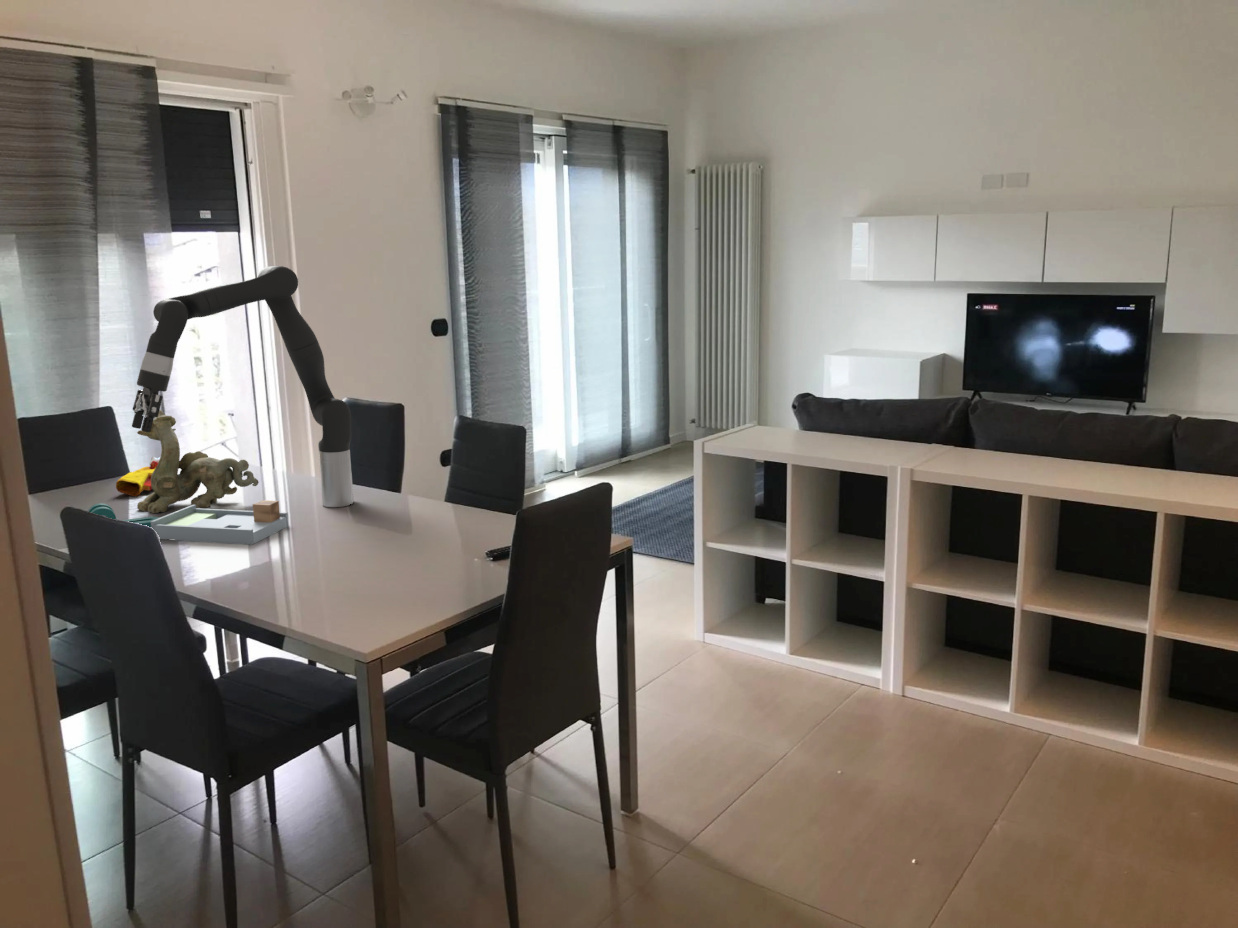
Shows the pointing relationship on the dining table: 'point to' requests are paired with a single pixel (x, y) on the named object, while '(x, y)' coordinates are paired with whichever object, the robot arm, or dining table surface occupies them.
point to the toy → (137, 480)
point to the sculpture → (189, 472)
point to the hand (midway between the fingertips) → (140, 429)
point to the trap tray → (216, 526)
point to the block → (266, 511)
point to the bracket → (108, 512)
